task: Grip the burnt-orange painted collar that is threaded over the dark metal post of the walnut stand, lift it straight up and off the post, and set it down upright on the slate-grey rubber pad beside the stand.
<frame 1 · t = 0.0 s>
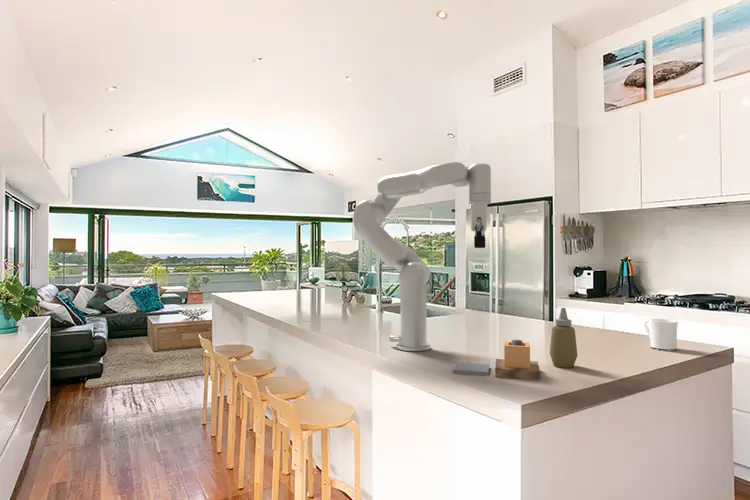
hand: (479, 247, 169), 37 cm above the countertop, tool pointing down, fingers open, 9 cm apart
pad: (471, 370, 143), on the countertop
mug: (660, 348, 175), on the countertop
squeeze bottle: (563, 366, 148), on the countertop
collar: (516, 364, 140), point 2 cm above the countertop, touching stand
stand: (516, 373, 140), on the countertop
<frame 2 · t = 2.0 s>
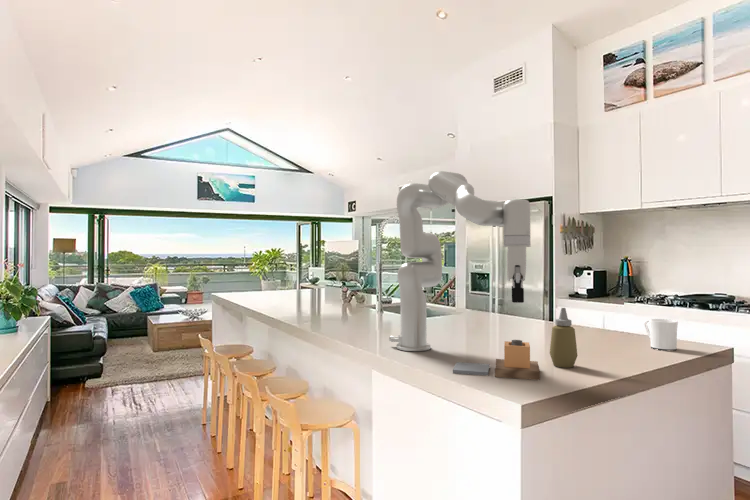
hand: (517, 300, 140), 21 cm above the countertop, tool pointing down, fingers open, 9 cm apart
nothing on the countertop moved.
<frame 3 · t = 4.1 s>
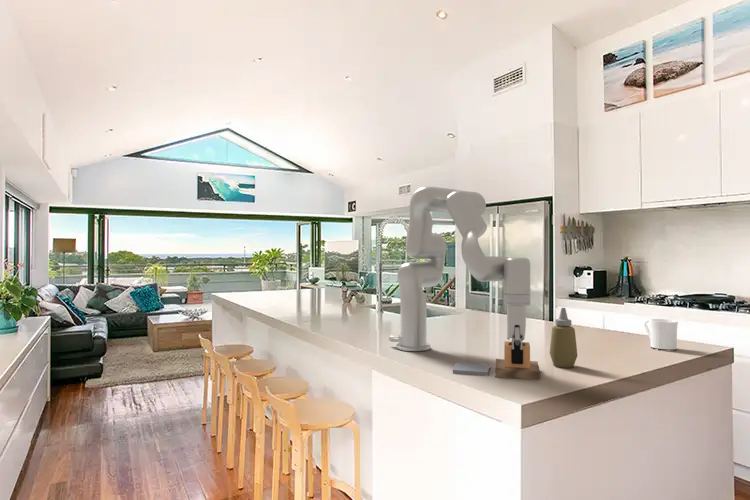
hand: (517, 360, 140), 4 cm above the countertop, tool pointing down, fingers closed on collar, 7 cm apart
collar: (516, 364, 140), point 3 cm above the countertop, touching gripper, stand
everything else where it was.
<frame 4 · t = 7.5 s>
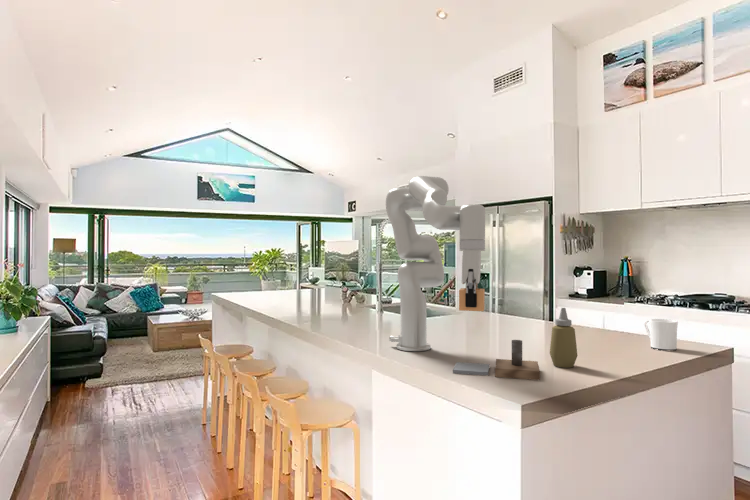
hand: (472, 305, 143), 19 cm above the countertop, tool pointing down, fingers closed on collar, 7 cm apart
collar: (472, 309, 143), point 18 cm above the countertop, touching gripper
everything else where it was.
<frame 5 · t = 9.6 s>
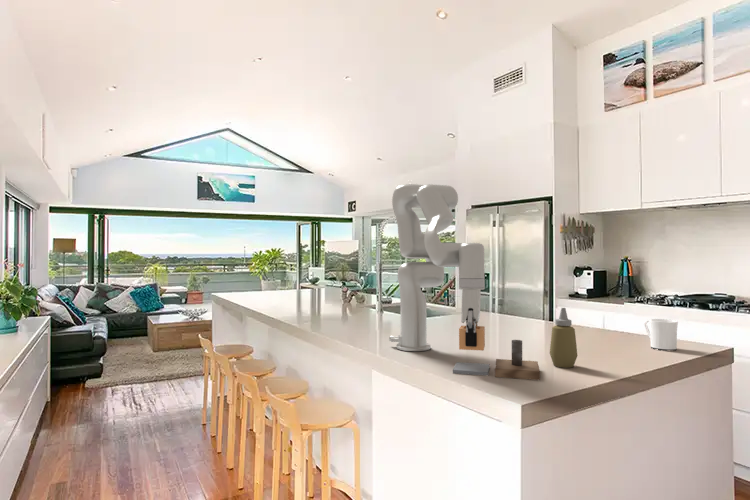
hand: (472, 343, 143), 8 cm above the countertop, tool pointing down, fingers closed on collar, 7 cm apart
collar: (472, 347, 143), point 7 cm above the countertop, touching gripper
everything else where it was.
when the fingers open (4 cm above the countertop, at t = 11.4 s): collar drops 2 cm, resting on pad.
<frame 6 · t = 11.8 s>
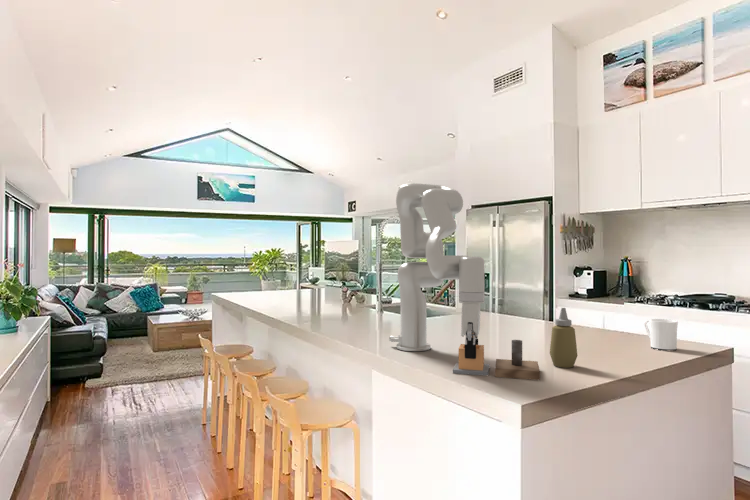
hand: (471, 354, 143), 5 cm above the countertop, tool pointing down, fingers open, 9 cm apart
collar: (471, 366, 143), point 1 cm above the countertop, touching pad
everything else where it was.
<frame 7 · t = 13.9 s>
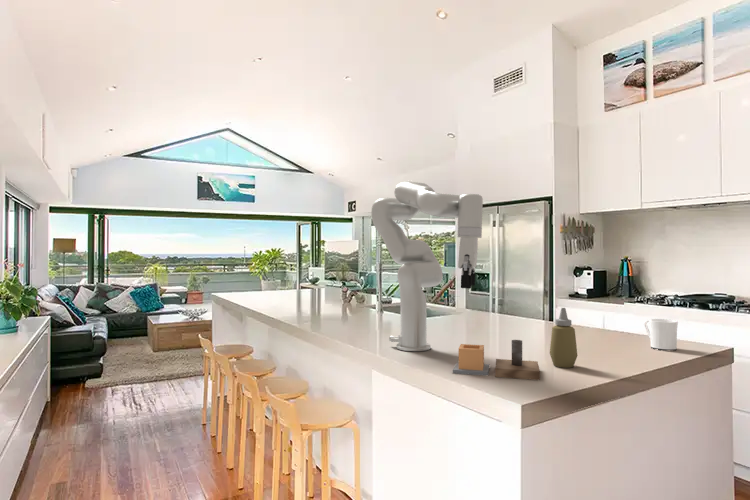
hand: (467, 286, 153), 24 cm above the countertop, tool pointing down, fingers open, 9 cm apart
nothing on the countertop moved.
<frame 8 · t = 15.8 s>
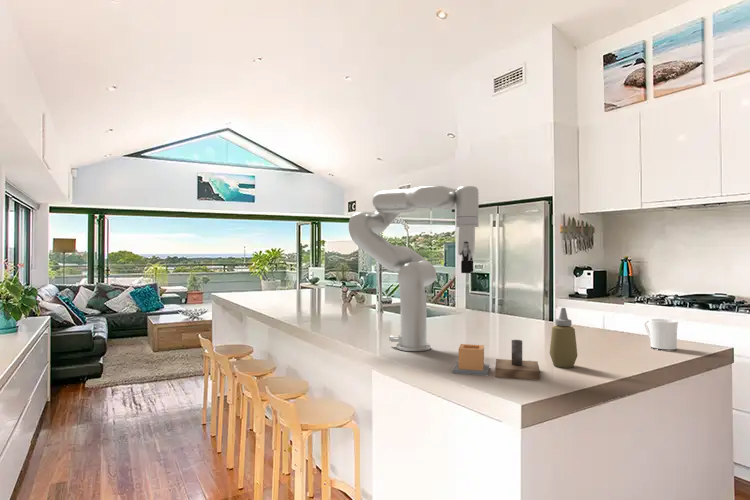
hand: (467, 272, 164), 28 cm above the countertop, tool pointing down, fingers open, 9 cm apart
nothing on the countertop moved.
at the end: collar 0.1 cm off-centre on the pad, point 1.0 cm above the pad's base; collar tilted 0°; collar touching pad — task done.
